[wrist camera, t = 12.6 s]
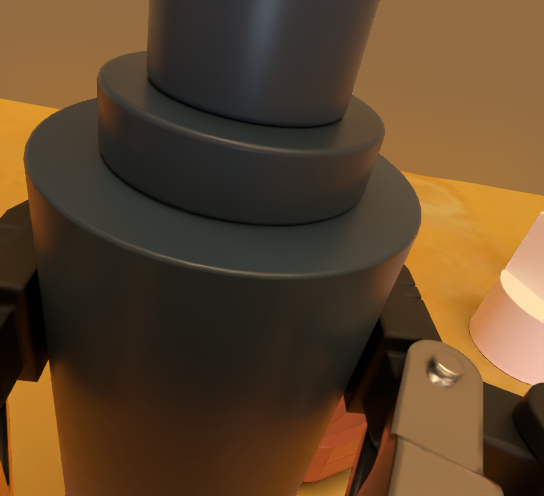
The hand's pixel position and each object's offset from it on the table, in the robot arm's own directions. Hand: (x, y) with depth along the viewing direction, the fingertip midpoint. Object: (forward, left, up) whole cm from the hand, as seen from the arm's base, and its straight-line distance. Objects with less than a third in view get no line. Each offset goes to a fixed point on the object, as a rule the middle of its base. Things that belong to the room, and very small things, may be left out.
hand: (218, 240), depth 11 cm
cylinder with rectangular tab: (+16, +30, -20) cm, 40 cm away
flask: (+1, -2, -10) cm, 10 cm away
